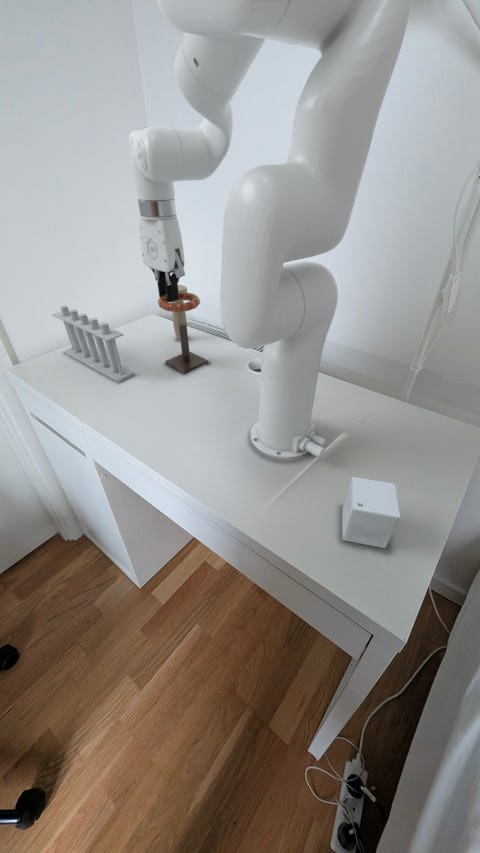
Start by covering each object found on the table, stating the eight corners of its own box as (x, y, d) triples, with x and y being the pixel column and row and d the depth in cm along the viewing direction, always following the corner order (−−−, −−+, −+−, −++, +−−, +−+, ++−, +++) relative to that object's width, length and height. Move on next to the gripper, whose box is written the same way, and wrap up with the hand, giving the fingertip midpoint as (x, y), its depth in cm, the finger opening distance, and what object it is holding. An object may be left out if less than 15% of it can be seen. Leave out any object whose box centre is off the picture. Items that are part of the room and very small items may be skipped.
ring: (208, 305, 80) (207, 297, 79) (176, 316, 75) (175, 308, 74) (181, 296, 85) (181, 288, 84) (150, 305, 80) (149, 298, 78)
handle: (182, 344, 98) (176, 292, 89) (168, 338, 102) (161, 287, 92) (195, 339, 101) (190, 287, 92) (181, 333, 104) (175, 283, 95)
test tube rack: (133, 375, 85) (121, 324, 76) (118, 382, 82) (104, 330, 74) (79, 347, 97) (64, 301, 89) (65, 353, 94) (48, 305, 86)
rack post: (208, 363, 90) (205, 323, 83) (185, 374, 85) (180, 333, 78) (188, 354, 94) (184, 315, 87) (165, 364, 89) (159, 324, 82)
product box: (386, 550, 47) (401, 518, 43) (341, 541, 48) (351, 509, 44) (382, 515, 52) (396, 483, 47) (341, 507, 53) (351, 475, 48)
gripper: (120, 207, 72) (137, 295, 84) (167, 215, 64) (178, 312, 75) (150, 204, 76) (161, 288, 88) (197, 211, 68) (203, 303, 79)
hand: (169, 298), depth 81 cm, fingers closed on ring, 2 cm apart
